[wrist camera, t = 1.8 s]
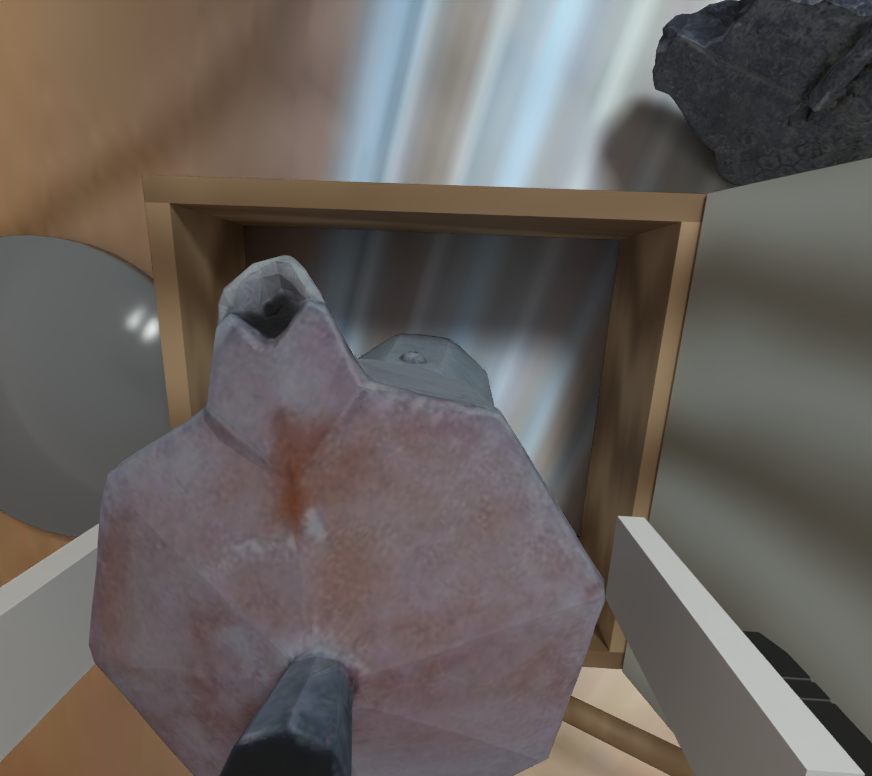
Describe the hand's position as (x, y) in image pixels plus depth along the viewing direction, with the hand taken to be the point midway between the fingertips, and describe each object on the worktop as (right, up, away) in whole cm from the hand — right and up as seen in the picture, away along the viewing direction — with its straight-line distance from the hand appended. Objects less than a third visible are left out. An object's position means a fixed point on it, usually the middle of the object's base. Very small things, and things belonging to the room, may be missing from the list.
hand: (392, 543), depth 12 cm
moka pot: (+1, +3, +12) cm, 13 cm away
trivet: (-20, +4, +13) cm, 24 cm away
